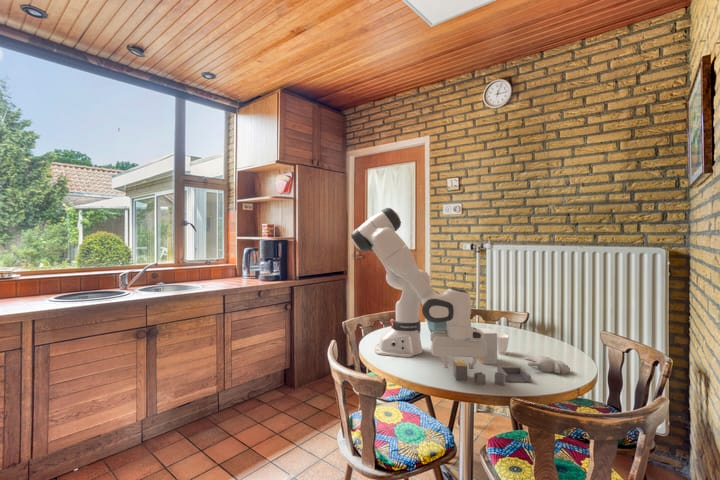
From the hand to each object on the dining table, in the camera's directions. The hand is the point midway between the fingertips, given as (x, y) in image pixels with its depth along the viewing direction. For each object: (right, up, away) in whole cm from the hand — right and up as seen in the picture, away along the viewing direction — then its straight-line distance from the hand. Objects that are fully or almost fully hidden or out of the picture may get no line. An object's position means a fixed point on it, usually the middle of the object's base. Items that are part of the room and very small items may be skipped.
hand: (458, 368), depth 129 cm
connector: (+1, -4, +1) cm, 4 cm away
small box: (+17, -4, +18) cm, 25 cm away
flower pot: (+5, -4, +58) cm, 59 cm away
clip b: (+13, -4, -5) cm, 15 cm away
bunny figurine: (+37, -4, +7) cm, 38 cm away
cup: (+26, -4, +29) cm, 39 cm away
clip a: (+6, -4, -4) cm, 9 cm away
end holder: (+21, -4, 0) cm, 21 cm away
